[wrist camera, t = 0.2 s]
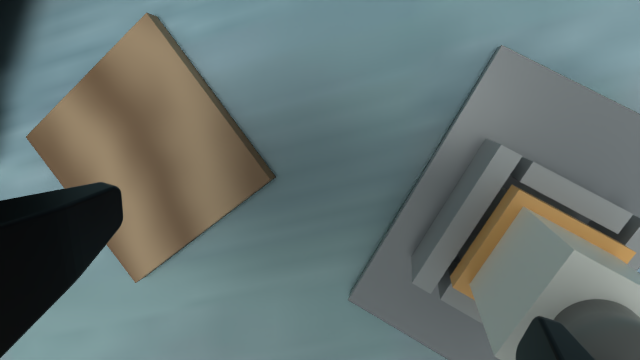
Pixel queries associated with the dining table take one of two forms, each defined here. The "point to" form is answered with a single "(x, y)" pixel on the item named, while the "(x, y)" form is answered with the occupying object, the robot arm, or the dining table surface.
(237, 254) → the dining table surface
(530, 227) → the plug
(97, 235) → the robot arm
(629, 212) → the socket panel
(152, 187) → the pad
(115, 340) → the dining table surface
